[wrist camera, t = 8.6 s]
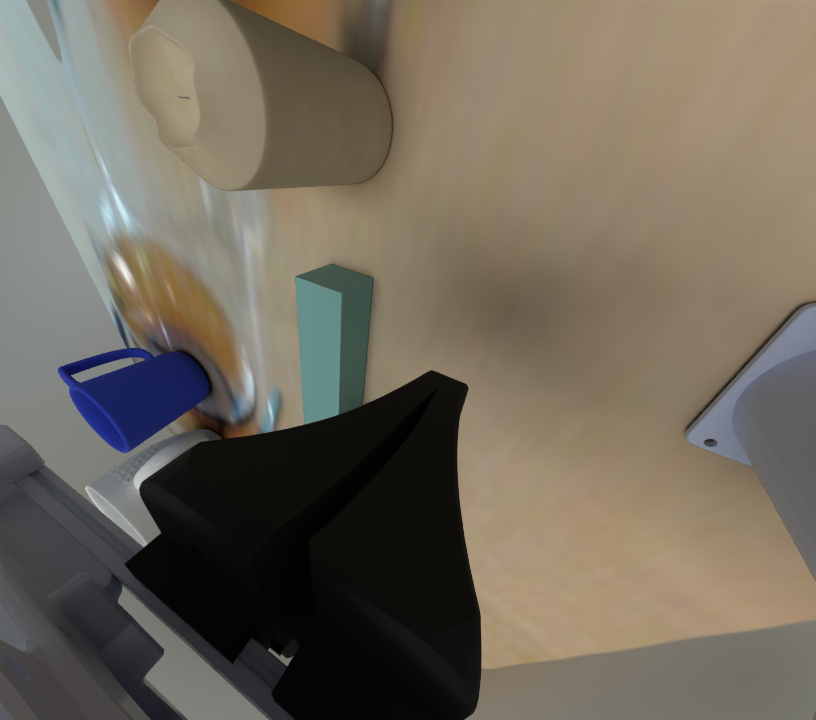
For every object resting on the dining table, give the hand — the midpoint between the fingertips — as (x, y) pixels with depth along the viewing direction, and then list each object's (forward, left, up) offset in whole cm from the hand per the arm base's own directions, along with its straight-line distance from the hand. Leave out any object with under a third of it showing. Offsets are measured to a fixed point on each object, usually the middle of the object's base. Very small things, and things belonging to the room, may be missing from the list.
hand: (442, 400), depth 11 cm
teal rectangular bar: (+10, +12, -10) cm, 19 cm away
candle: (+11, -7, -10) cm, 16 cm away
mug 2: (+32, +33, -10) cm, 47 cm away
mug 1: (+35, +20, -10) cm, 42 cm away
